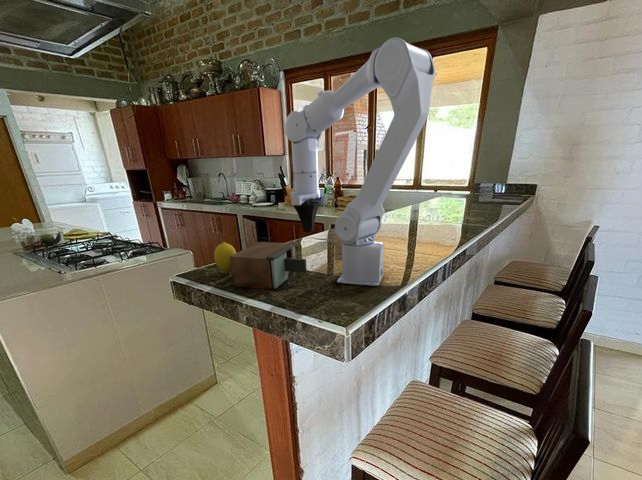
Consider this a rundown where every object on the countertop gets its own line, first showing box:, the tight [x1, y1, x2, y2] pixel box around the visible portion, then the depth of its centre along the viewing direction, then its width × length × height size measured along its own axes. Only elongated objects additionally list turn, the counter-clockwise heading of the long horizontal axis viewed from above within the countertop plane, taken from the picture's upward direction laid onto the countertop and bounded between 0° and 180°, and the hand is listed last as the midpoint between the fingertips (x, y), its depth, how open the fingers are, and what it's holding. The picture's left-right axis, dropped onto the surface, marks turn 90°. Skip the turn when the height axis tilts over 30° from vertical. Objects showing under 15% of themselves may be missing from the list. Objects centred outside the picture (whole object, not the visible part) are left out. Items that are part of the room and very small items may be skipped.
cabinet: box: [230, 241, 300, 290], centre depth 79 cm, size 11×14×7 cm
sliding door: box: [271, 252, 308, 289], centre depth 75 cm, size 6×7×6 cm
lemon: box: [213, 241, 237, 274], centre depth 84 cm, size 6×6×8 cm
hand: (308, 231), depth 83 cm, fingers closed
